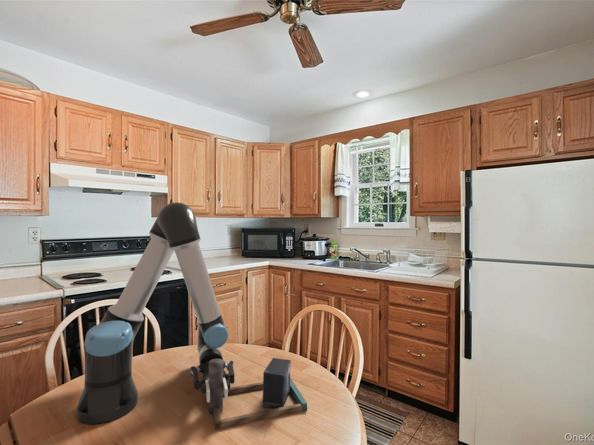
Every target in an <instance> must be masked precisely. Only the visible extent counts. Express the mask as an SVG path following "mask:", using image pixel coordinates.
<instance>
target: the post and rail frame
mask: <svg viewBox="0 0 594 445" xmlns="http://www.w3.org/2000/svg"><path fill="white" fill-rule="evenodd" d="M223 361H224V359H223V360H222V359H212V360H210V361H209V379H208V381H209V388H210V402H207V403H208V408H207V409H208V410H207V412H208V414H209V415H211V416H213V423H214V428H215V430H219V429H224V428H229V427H233V426H237V425H241V424H247V423H251V422H256V421H261V420H265V419H270V418H275V417H280V416H285V415H290V414H294V413H298V412H305V411H307V410H308V402H307V400H306V399H305V397H304V395H303V394H302V393H301V391H300V390H299V389H298V387H297V386H296V383H295V382H294V381H293V380H292V378H291V377H290V393H291V395H292V396H293V398H294V400H295V401H296V403H295V404H291V405H284V407H280V408H276V409H267V410H261V411H256V412H253V413H248V414H242V415H237V416H233V417H226V418H222V417H221V413H222V412H223V410H224V409H223V408H224V406H223V404H224V392H223ZM256 390H263V381H261V382H255V383H250V384H243V385H237V386H230V389H229V390H228V396H229V395H234V394H235V395H236V394H240V393H245V392H250V391H251V392H252V391H256Z"/></svg>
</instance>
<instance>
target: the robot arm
mask: <svg viewBox="0 0 594 445" xmlns="http://www.w3.org/2000/svg"><path fill="white" fill-rule="evenodd" d="M156 217H157V218H156V220H155V221H154V223H153V225H152V226H151V229H150V230H149V232H148V234H149V237H150V240H149V242H148V244H147V246H146V248H145V249H144V250H143V251H144V252H143V253H142V255H141V257H140V259H139V261H138V263H137V264H136V266H135V268H134V270H133V272H132V274H131V276H130V277H129V279H128V281H127V283H126V285H125V287H124V289H123V291H122V292H121V294H120V296H119V298H118V300H117V302H116V303H115V304H113V305H111V306H109V307H108V308H107V309H106V312H105V313H104V315H103V317H102V319H101V320H100V322H99V324H97V325H94V326H92V327H91V328H89V330H87V332H86V334H85V340H84V387H83V389H82V392H81V395H80V398H79V401H78V403H77V405H76V414H75V415H76V416H75V417H76V419H77V421H78V422H80V423H82V424H86V425H95V424H103V423H108V422H111V421H114V420H117V419H119V418H121V417H123V416H125V415H126V414H129V413H130V412H131V411H132V410H133V409H135V407H136V406H137V404H138V401H139V393H138V392H139V391H138V389H137V386H136V384H135V381H134V379H133V377H132V376H133V375H132V369H133V363H132V362H133V346H134V341H135V337H136V336H137V333H138V331H139V330H140V328H141V325H142V324H143V322H144V319H145V317H144V314H143V311H144V310H145V308H146V306H147V303H148V302H149V300H150V298H151V296H152V294H153V293H154V290H155V289H156V286H157V284H158V283H159V281H160V279H161V277H162V275H163V273H164V271H165V270H166V267H167V265H168V264H169V261H170V259H171V257H172V255H173V254H174V253H175V255H176V259H177V262H178V264H179V267H180V268H179V269H180V271H181V274H182V277H183V279H184V282H185V285H186V288H187V292H188V294H189V298H190V300H191V304H192V307H193V310H194V312H195V315H196V319H197V324H198V325H197V326H198V328H197V329H198V331H197V332H198V334H197V352H198V358H199V359H198V360H199V362H198V363H199V365H198V366H190V376H191V377H192V380H193V386H194V388H193V389H194V390H195V391H196V390H199V389H200V393H201V394H202V395H205V397H206V403H208V402H210V388H209V361H210V360H212V359H222V360H223V392H224V396H223V398H224V400H228V399H229V395H228V390H229V389H230V388H231V384H232V385H233V384H235V376H236V375H235V371H234V360H231V361H229V362H226V361H224V358H223V355H222V354H223V353H222V350H221V347H223V346H224V345H226V343H227V341H228V339H229V331H228V328H227V327H226V326H225V323H224V319H223V317H222V313H221V309H220V306H219V303H218V301H217V297H216V294H215V290H214V287H213V285H212V281H211V278H210V274H209V271H208V268H207V266H206V262H205V259H204V256H203V253H202V250H201V247H200V244H199V242H201V236H200V232H199V230H198V229H199V228H198V225H197V219H196V215H195V212H194V211H193V209H192V208H191V207H190V206H189V205H187V204H186V203H183V202H179V201H175V202H171V203H168V204H166V205H165V206H164V207H163V208H161V210H160V211H159V212H158V215H157V216H156ZM225 369H226V370H227V371H228V372H226V370H225ZM199 373H201V374H202V378H201V379H200V378H199Z"/></svg>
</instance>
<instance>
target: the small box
mask: <svg viewBox="0 0 594 445" xmlns="http://www.w3.org/2000/svg"><path fill="white" fill-rule="evenodd" d="M291 362H292V361H291V359H286V358H285V359H284V358H278V357H272V359H271V360H270V361H269V364H268V365H267V366H266V367H265V370H264V371H263V373H262V374H263V377H262V382H263V389H262V406H261V407H262V408H264V409H269V410H271V409H276V408H280V407H285V404H286V402H287V399H288V397H289V395H290V393H291V392H290V378H291V371H292V370H291V368H292V367H291Z"/></svg>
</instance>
